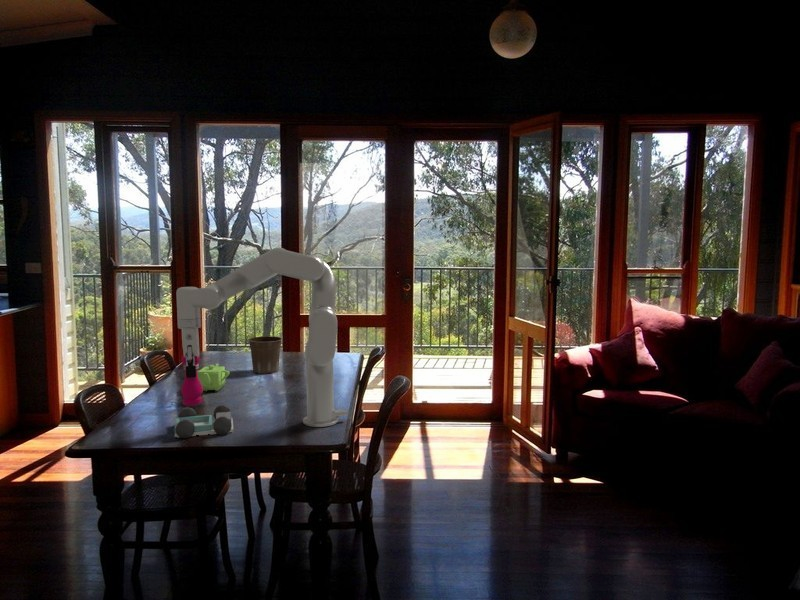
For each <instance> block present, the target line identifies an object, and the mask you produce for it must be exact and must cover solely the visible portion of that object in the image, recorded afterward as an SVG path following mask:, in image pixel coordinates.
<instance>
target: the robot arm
mask: <svg viewBox="0 0 800 600" xmlns="http://www.w3.org/2000/svg"><path fill="white" fill-rule="evenodd" d="M278 275H280V276H286V277H289V278H292V279H293V278H294V279H297V280H303V281H307V282H310V284H311V297H310V298H311V299H310V300H311V302H310V310H309V315H308V323H309V325H308V338H307V341H306V344H305V349H304V350H305V351H304V354H305V366H306V367H305V369H306V371H305V373H306V408H307V410H306V411H307V413H306V414H307V416H305V417H303V419H302V423H303V424H304V425H305V426H308V427H312V428H313V427H314V428H323V427H330V426H334V425H336V424H337V423H338V422H339V417H346V416H348V411H347V409H346V410H342V409H336V408H335V405H334V404H335V403H334V401H335V400H334V397H335V396H334V363H333V362H334V361H333V360H334V359H335V354H336V348H337V347H336V346H337V335H338V317H337V315H336V300H337V299H336V297H337V283H336V278H335V274H334V272H333V270H332V269H331V267H330V266H329V265H328V263H326V262H325V260H323V259H322V258H320V257H318V256H317V255H314V254H303V253H301V252H300V253H299V252H295V251H292V250H291V251H290V250H287V249H285V248H283V247H274V248H271V249H270V250H268V251H266V252H264V253H262V254H260V255H259V256H257V257H255V258H253V259H252V260H250V261H248V262H246V263H244V264H242V265H241V266H239V267H238V268H236V269H235V270H233V271H232V272H231V273H228V274H227V275H225V276H223V277H221V278H220V279H217V280H216V281H214V282H213V283H211V284H209V285H207V286H206V287H200V288H198V287H196V286H182V287H178V288H177V289H176V294H175V295H176V309H177V310H176V313H177V314H176V316H177V317H176V318H177V329H180V330H181V340H182V341H181V342H182V343H181V344H182V351H183V353H182V354H184V357H185V358H186V378H195V377H196V366H195V356H197V357H198V356H199V355H200V337H199V336H200V335H199V328H202V319H201V317H202V316H201V315H202V314H201V309H204V310H205V309H206V310H214V309H216V308H218V307H220V305H221V304H222V303H224V302H225V301H227V300H229V299H230V298H233V297H234V296H236V295H239V294H240V293H242V292H244V291H248V290H251V289H254V288H256V287H257V286H260V285H261V284H263V283H265V282H266V281H268V280H270V279H272V278H274V277H276V276H278ZM185 354H186V355H185ZM187 355H188V357H187ZM192 355H193V357H192Z"/></svg>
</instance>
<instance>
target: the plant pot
mask: <svg viewBox="0 0 800 600" xmlns="http://www.w3.org/2000/svg"><path fill="white" fill-rule="evenodd" d="M247 341H248V343H249V348H250V354H251V365H252V372H253V373H254V374H258V375H263V374H265V375H266V374H269V373H270V374H275V373H277V372H278V371H279V368H280V354H281V353H280V352H281V347H282V341H283V338H282V337H280V336H275V335H274V336H272V335H269V336H268V335H265V336H261V335H260V336H253V337H250V338H248V339H247ZM274 372H275V373H274Z"/></svg>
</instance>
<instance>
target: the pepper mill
mask: <svg viewBox="0 0 800 600" xmlns="http://www.w3.org/2000/svg"><path fill="white" fill-rule="evenodd" d="M185 355H186V354H185ZM187 357H188V355H187ZM192 357H193V355H192ZM200 360H201V357H200V354H199V356H198V357H197V356H195V366H196V377H195V378H186V358H185V357H184V354H183V353H182V355H181V363H183V370H184V372H185V374H184V375H185V376H184V380H183V382H182V386H181V389H180V394H181V395H182V396H183V398H182V403H183V405H184V406H197V405H200V404H202V403H203V397H202V394H203V393H204V392H203V387H202V384H201V382H200V381H199V378H198V374H197V371H198V370H199V368H200V367H199V365H200V364H199V362H200Z"/></svg>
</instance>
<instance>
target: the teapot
mask: <svg viewBox="0 0 800 600" xmlns="http://www.w3.org/2000/svg"><path fill="white" fill-rule="evenodd" d="M230 373H231V372H230V371H229V370H226V367H225V365H224V366H219V363H216V364H215V365H214V364H209V365H208V366H204V367H202V368H201V369H198V370H197V374H198V378H199V381H200V382H201V384H202V387H203V391H206V390H207V391H214V390H215V391H214V392H218V391H217V390H219V391H220V390H221V389H223V387H224V386H225V385H226V379H228V377H229V375H230ZM207 391H206V392H207Z"/></svg>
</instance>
